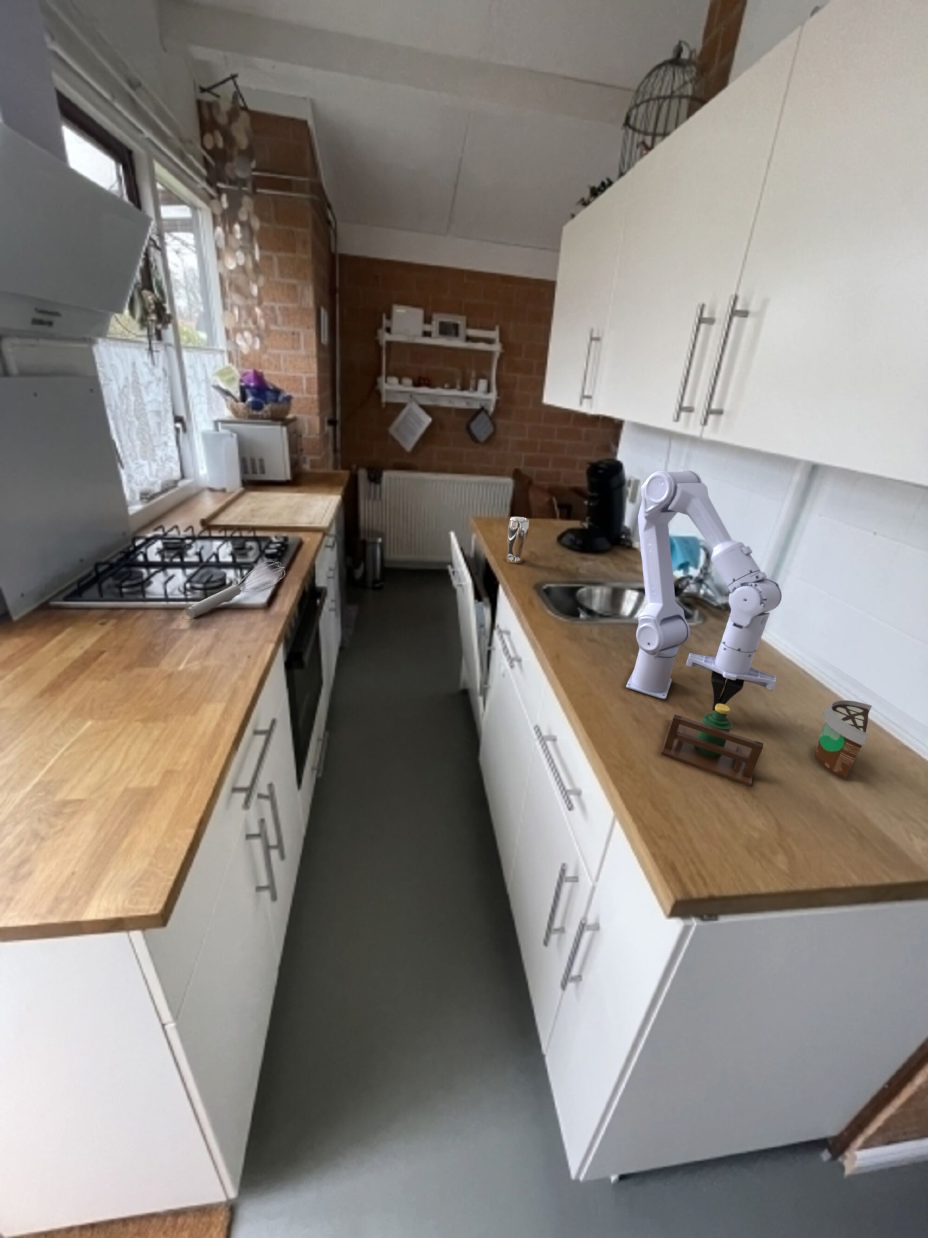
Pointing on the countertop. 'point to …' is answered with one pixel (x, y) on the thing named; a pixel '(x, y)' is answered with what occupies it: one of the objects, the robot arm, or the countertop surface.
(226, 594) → the kitchen whisk
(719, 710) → the bottle
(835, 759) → the food container
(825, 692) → the countertop surface
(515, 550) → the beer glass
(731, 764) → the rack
